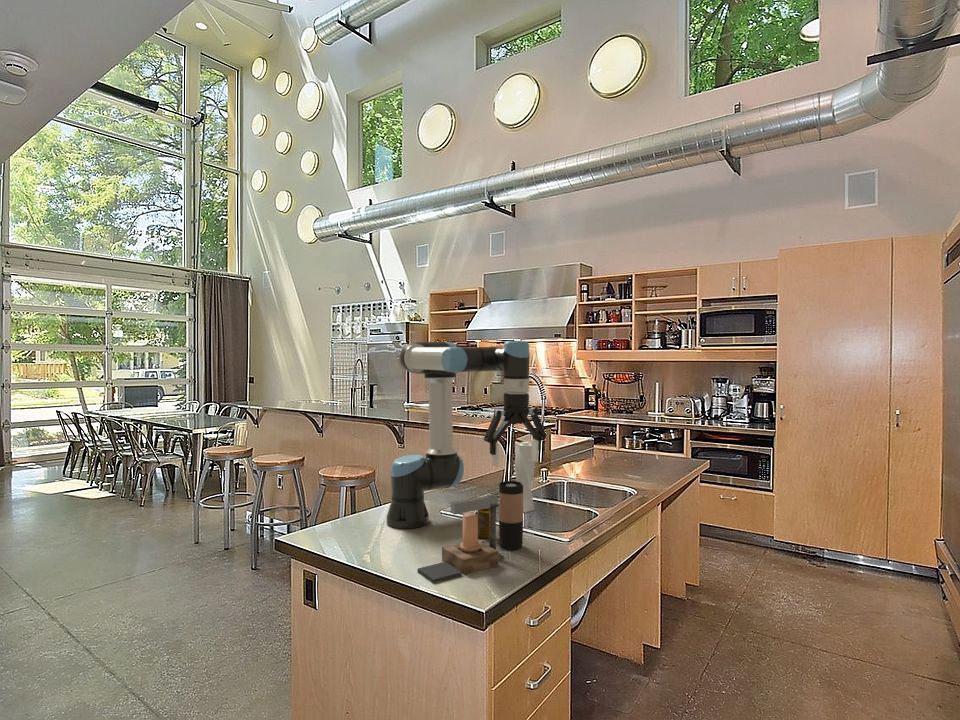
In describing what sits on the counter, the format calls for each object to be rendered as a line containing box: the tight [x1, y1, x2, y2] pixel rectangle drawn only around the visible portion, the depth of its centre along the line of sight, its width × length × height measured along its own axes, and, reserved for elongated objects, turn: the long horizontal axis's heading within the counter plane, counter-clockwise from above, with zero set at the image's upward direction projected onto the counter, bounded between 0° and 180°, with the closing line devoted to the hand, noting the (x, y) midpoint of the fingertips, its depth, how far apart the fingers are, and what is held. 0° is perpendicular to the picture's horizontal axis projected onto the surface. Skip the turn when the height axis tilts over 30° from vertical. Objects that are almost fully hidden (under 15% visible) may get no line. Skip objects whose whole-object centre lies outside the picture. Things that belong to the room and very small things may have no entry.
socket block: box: [441, 507, 505, 575], centre depth 168 cm, size 12×16×15 cm
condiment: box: [477, 508, 499, 543], centre depth 189 cm, size 7×8×12 cm
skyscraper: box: [514, 438, 538, 515], centre depth 219 cm, size 8×8×28 cm
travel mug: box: [498, 480, 524, 552], centre depth 181 cm, size 8×8×20 cm
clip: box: [450, 494, 499, 515], centre depth 168 cm, size 4×16×3 cm, turn 124°
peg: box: [460, 512, 480, 554], centre depth 167 cm, size 6×6×14 cm
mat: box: [417, 561, 463, 584], centre depth 159 cm, size 9×9×1 cm
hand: (515, 463), depth 171 cm, fingers open, 13 cm apart
